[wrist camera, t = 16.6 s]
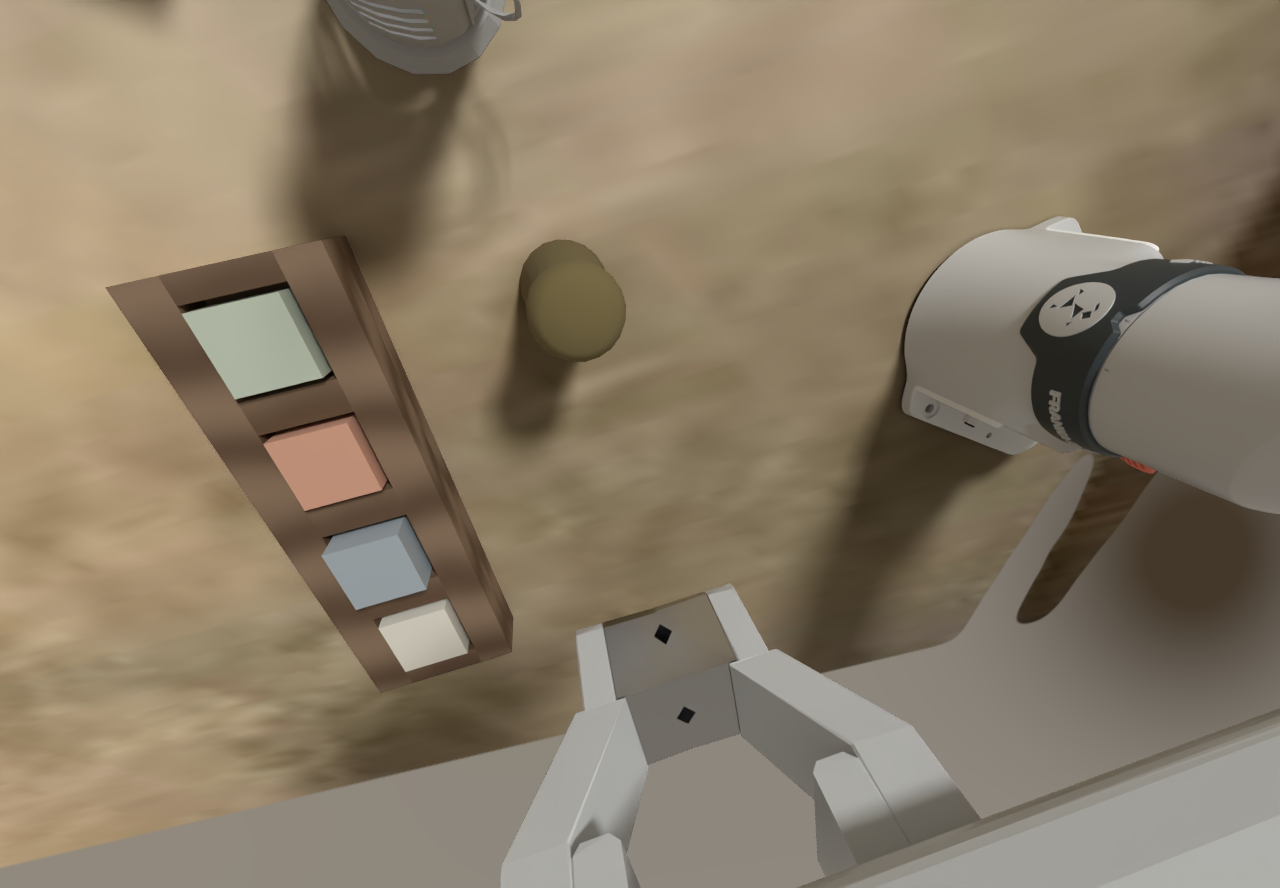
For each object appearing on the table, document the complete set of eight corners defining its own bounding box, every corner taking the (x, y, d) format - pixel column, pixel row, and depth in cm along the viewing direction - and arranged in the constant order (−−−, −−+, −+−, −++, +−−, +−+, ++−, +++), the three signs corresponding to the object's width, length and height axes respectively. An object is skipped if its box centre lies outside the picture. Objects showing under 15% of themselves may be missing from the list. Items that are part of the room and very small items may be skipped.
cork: (547, 345, 36) (554, 397, 26) (502, 264, 33) (491, 289, 23) (622, 307, 36) (658, 344, 26) (583, 223, 33) (607, 230, 23)
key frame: (156, 277, 29) (105, 287, 26) (345, 235, 30) (321, 239, 27) (392, 653, 44) (380, 692, 41) (513, 617, 46) (511, 652, 42)
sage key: (208, 305, 29) (181, 314, 26) (297, 285, 29) (278, 291, 27) (255, 385, 31) (235, 399, 29) (337, 365, 31) (323, 377, 29)
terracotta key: (281, 428, 32) (263, 444, 30) (359, 408, 33) (346, 423, 31) (318, 491, 35) (304, 510, 32) (391, 472, 35) (382, 490, 33)
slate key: (334, 533, 35) (321, 556, 33) (405, 514, 36) (397, 534, 33) (366, 586, 37) (355, 609, 35) (432, 567, 38) (426, 589, 36)
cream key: (386, 605, 40) (378, 628, 37) (448, 586, 40) (444, 608, 38) (412, 647, 42) (405, 672, 40) (470, 629, 42) (467, 653, 40)
